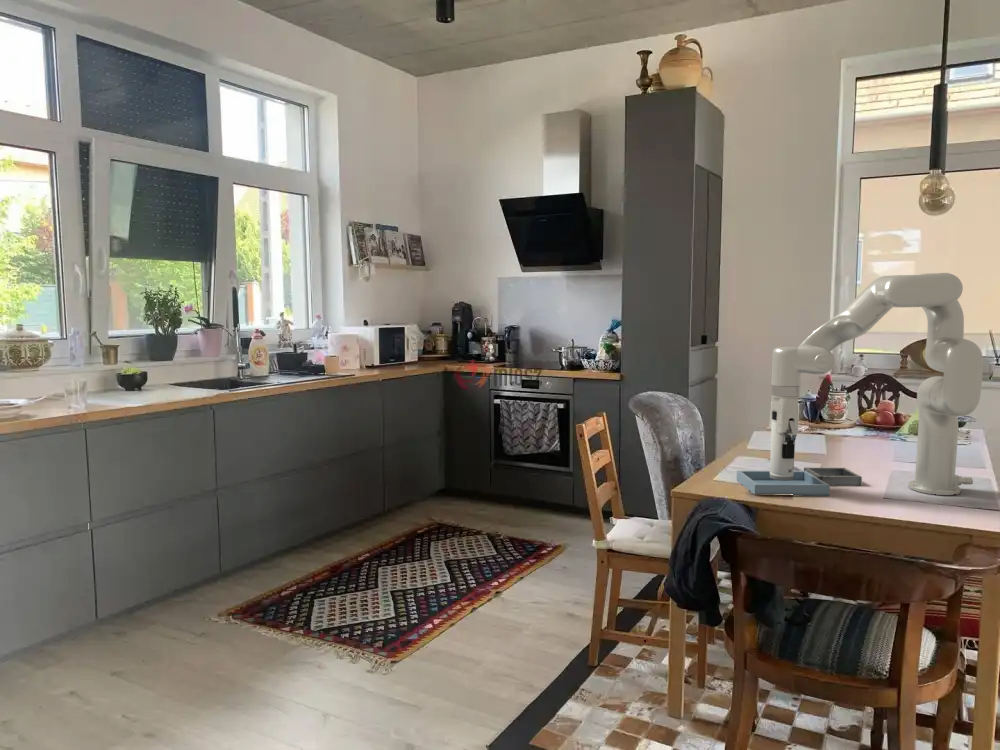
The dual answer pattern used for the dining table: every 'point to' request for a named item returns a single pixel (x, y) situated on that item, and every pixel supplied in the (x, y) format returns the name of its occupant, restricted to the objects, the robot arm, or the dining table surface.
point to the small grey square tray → (835, 476)
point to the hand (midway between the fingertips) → (783, 455)
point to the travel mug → (779, 455)
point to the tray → (783, 484)
